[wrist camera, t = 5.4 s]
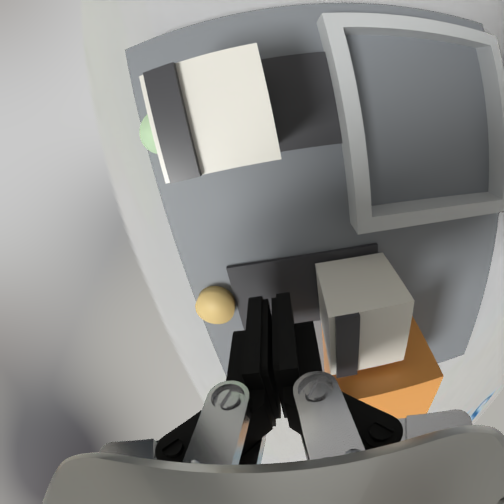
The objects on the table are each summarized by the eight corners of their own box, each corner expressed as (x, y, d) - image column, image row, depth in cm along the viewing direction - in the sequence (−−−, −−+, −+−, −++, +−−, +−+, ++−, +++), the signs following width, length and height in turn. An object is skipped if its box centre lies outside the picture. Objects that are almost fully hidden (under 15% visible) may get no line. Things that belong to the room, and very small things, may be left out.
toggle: (277, 144, 10) (282, 160, 7) (197, 161, 10) (163, 185, 7) (260, 65, 9) (256, 40, 5) (179, 86, 9) (135, 75, 6)
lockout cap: (395, 360, 15) (419, 427, 11) (324, 374, 16) (334, 447, 11) (405, 303, 13) (443, 376, 9) (320, 319, 14) (335, 403, 9)
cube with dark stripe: (380, 307, 13) (405, 363, 9) (320, 318, 13) (331, 379, 10) (382, 252, 11) (416, 304, 8) (315, 263, 12) (329, 321, 9)
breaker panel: (453, 335, 17) (470, 366, 14) (238, 375, 19) (234, 413, 16) (460, 29, 8) (496, 20, 5) (144, 56, 10) (110, 45, 7)
